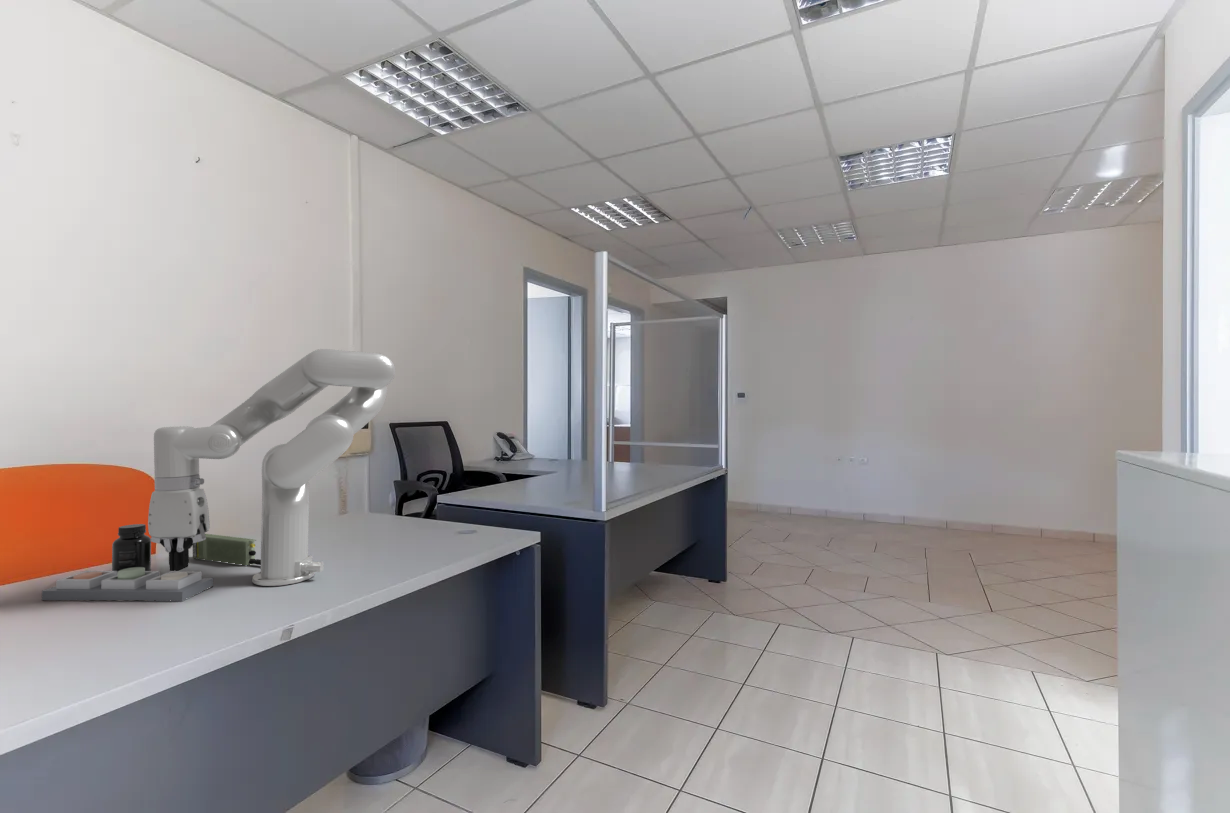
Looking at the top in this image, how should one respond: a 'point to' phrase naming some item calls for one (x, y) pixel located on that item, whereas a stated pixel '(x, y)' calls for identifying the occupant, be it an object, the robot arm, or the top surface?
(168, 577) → the cream button
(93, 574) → the terracotta button
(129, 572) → the sage button
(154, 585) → the button panel
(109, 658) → the top surface
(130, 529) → the supplement bottle
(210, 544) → the handheld radio
